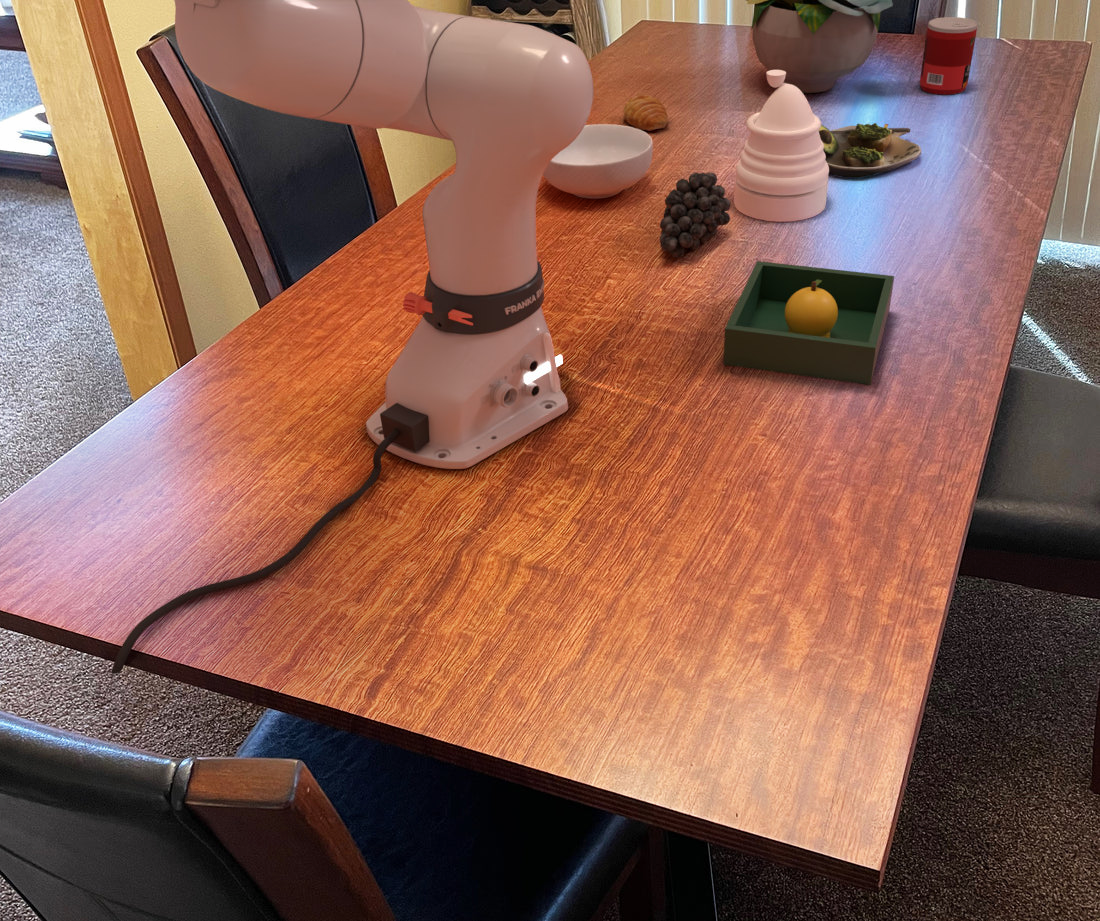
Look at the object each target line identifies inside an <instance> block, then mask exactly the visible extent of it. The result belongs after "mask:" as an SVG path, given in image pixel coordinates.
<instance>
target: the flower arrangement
mask: <svg viewBox="0 0 1100 921" xmlns="http://www.w3.org/2000/svg"><path fill="white" fill-rule="evenodd" d="M745 1H746V2H747V3H746V5H754V8H753V14H752V22H751V30H752V43H753V45H754V50H755V53H756V56H757V59H758V61H759V63H761V65H763V66H764V67H765V68H766V69H767V70H768V71H770V70H783V71H785V72H786V76H785V79H784V82H783V83H786V84H791V85H794V86H796V87H797V88H798V89H799V90H800V91H801V92H802V93H804V94H807V93H808V94H812V93H813V94H814V93H815V94H817V93H822V92H827V91H829V90H832V89H833V88H834V87H835V85H836V83H837V80H839V79H840V78H842V77H845V76H847V75H849V74H851V73H853V72H854V71H856V70H857V69H858V68H860V67H861V66H862V65H863V64H865V62H866V61H867V60H868V58H869V57H870V55H871V52H872V50H873V48H874V45H875V44H876V42H877V36H878V32H879V28H880V22H881V21H880V20H881V13H882V11H884V10H887V9H889V8H891V7H893V6H894V2H893V0H745Z"/></svg>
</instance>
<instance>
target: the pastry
mask: <svg viewBox="0 0 1100 921" xmlns="http://www.w3.org/2000/svg"><path fill="white" fill-rule="evenodd" d="M622 111H623V117H624V120H625V121H626V123H628V124H629V125H631V126H632V127H633V128H636V129H639V130H642V131H644V130H645V131H648V132H650V131H654V130H656V129H664V128H665V127H666V125H667V124H668V123H669V121H668V113H667V110H666V107H665V105H664V104H663V103H662V102H661V101H660V99H658V98H656V97H652V96H651V95H647V94H637V95H635V96H634V97H633V98H629V100H628V101H627V102H626V103H625V105H624V107H623V110H622Z"/></svg>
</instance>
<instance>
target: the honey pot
mask: <svg viewBox="0 0 1100 921" xmlns="http://www.w3.org/2000/svg"><path fill="white" fill-rule="evenodd" d="M765 74H766V80H767V83H768V85H769V86H770V87H772V88H775V90H774V91H773V92H772V93H771V95H770V96H769V97H768V99H767V100H766V101H765V103H764V105H763V106H762V107H761V110H760V111H759V112H756V113H754V114H752V115H751V116H749V117H748V119H747V120H746V123H745V124H746V129H747V130H748V131H749V132H750V134H749V136H748V138H747V139H746V140H745V142H744V145H743V147H744V148H743V149H742V152H741V154H740V158H739V159H738V161H737V164H736V167H735V175H734V177H735V180H734V189H733V192H734V193H733V205H734V207H735V209H736V210H737V211H738V212H739V213H741V214H743V215H745V216H747V217H750V218H753V219H755V220H760V221H766V222H777V223H781V222H782V223H784V222H785V223H787V222H797V221H804V220H807V219H810V218H814V217H816V216H818V215H820V214H821V213H822V212H823V211H824V210H825V209H826V205H827V198H828V187H829V175H830V174H829V166H828V164H827V162H826V160H825V159H826V155H825V153H824V151H823V148H824V144H823V142H822V140H821V138H820V134H819V131H818V130H819V129H820V127H821V125H822V122H821V121H822V120H821V119H820V118H819V117H818V116H817V115H815V114H814V113H813V110H812V108H811V106H810V104H809V101H808V99H807V97H806V95H804V94H805V93H804V92H801V91H800V90H799V89H798V88H797V87H796V86H794V85H791V84H786V83H784V79H785V76H786V72H785V71H783V70H770V71H769V70H768V71H766V73H765Z"/></svg>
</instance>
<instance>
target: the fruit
mask: <svg viewBox="0 0 1100 921" xmlns="http://www.w3.org/2000/svg"><path fill="white" fill-rule="evenodd" d="M717 183H718V176H717V174H716V173H715V172H706V173H705V172H693V173H690V174H689V176H688V179H685V178H680V179H679V180H677V181H676V183H675V187H676V188H675V189H673V190H671V191H670V192H669V193H668V195H667V196H666V197H665V199H664V204H665V206H666V207H665V208H664V212H663V216H662V217H663V218H662V219H661V220H660V223H659V227H660V229H661V232H660V236H659V244H660V248H661V250H662V251H663V252H665V253H669V254H670V256H671V257H672V258H676V259H679V258H682V257H683V256H684V254H685V249H686V248H689V250H692V251H696V250H697V249H699V248H700V242H702V243H704V242H705V243H706V242H707V241H708V240H709V238H714V237H715V236H716V235H717V232H718V227H720V226H727V225H728V224H729V223H730V221H731V216H730V214H729V213H728V211H729V210H730V208H731V206H732V202H731V200H730V199H729V198H727V197H725V195H726V189H725V187H724V186H723V185H721V184H717Z"/></svg>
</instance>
